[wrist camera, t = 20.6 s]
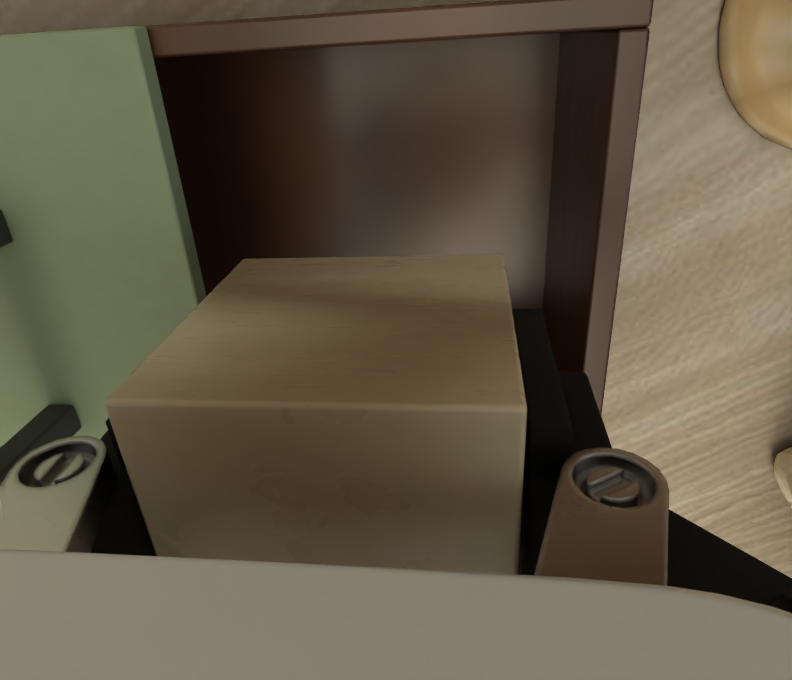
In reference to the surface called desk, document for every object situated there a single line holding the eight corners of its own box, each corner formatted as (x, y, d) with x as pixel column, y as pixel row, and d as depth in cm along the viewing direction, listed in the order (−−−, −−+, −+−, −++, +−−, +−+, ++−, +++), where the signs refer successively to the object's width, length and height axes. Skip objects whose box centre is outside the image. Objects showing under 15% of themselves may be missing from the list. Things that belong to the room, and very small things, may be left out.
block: (280, 460, 14) (191, 664, 9) (242, 257, 11) (99, 401, 7) (497, 467, 13) (512, 688, 9) (504, 253, 11) (528, 408, 6)
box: (203, 367, 26) (96, 504, 19) (124, 36, 20) (-82, 41, 13) (551, 370, 24) (588, 522, 17) (579, 5, 18) (656, -10, 11)
